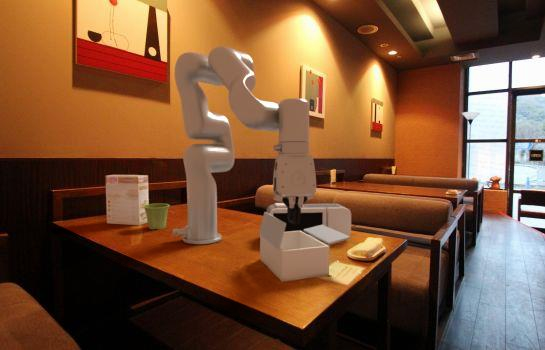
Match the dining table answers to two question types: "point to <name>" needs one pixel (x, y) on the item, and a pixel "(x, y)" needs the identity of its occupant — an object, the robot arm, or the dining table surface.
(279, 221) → the near flap
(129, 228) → the dining table surface
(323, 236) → the far flap
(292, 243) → the carton
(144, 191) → the coffeecake box
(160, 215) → the plant pot
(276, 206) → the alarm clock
